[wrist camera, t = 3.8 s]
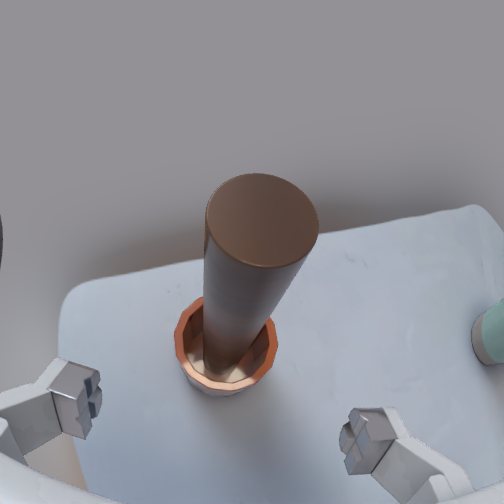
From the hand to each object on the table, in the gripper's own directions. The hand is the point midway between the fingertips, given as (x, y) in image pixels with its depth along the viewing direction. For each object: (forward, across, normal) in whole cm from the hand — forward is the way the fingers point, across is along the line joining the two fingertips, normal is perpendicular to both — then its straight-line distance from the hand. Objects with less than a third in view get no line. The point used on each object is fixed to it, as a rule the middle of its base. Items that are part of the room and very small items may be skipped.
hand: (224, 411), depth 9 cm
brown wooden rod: (+12, 0, +7) cm, 14 cm away
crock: (+13, 0, +7) cm, 15 cm away
